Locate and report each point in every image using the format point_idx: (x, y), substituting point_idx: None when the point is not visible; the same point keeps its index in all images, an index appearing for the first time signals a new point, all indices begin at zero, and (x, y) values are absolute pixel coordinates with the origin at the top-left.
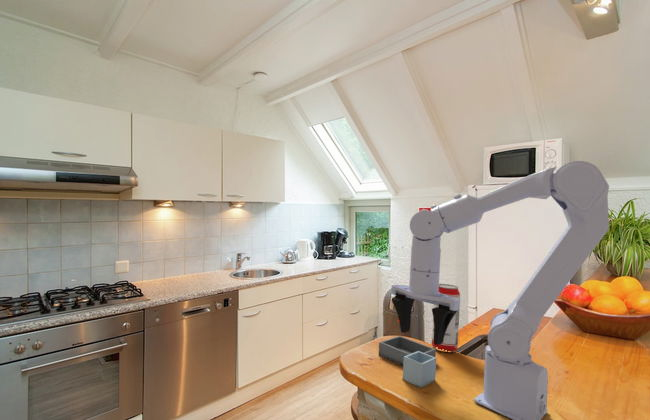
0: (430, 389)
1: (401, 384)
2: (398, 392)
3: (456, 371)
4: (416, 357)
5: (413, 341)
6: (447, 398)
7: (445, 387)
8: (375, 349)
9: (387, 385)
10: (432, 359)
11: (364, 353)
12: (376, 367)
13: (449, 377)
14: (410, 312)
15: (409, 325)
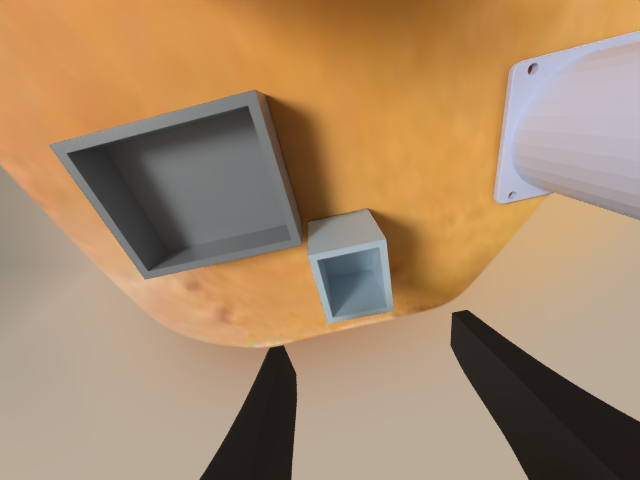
0: (391, 252)
1: None
2: None
3: (357, 70)
4: (319, 262)
5: (139, 131)
6: (439, 245)
7: (406, 209)
8: None
9: None
10: (387, 260)
11: (154, 283)
12: (248, 298)
13: (375, 146)
14: (260, 458)
15: (279, 371)
